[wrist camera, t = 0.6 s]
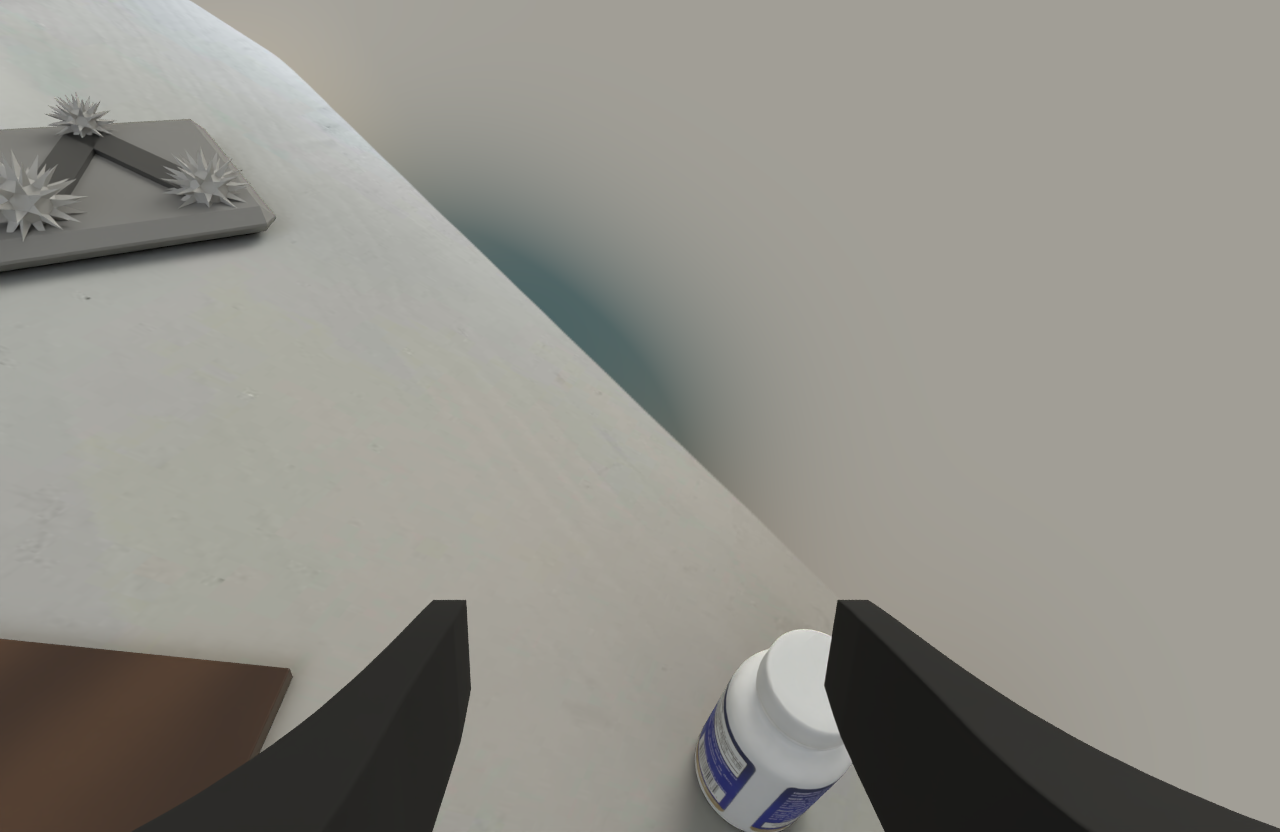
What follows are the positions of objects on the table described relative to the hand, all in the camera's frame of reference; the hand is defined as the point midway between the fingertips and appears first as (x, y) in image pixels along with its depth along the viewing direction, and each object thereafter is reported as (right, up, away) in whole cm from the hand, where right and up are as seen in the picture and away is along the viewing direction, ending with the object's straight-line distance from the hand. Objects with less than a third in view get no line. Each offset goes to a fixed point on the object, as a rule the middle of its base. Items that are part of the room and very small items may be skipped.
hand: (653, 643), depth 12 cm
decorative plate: (-49, +21, +38) cm, 65 cm away
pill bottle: (+5, -12, +17) cm, 21 cm away
